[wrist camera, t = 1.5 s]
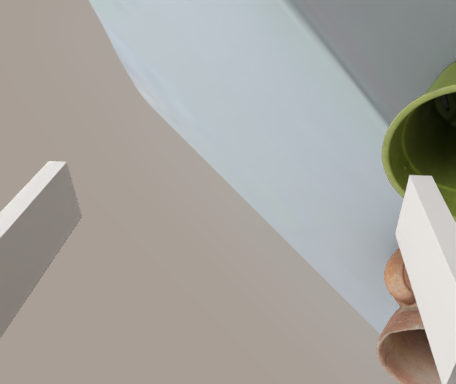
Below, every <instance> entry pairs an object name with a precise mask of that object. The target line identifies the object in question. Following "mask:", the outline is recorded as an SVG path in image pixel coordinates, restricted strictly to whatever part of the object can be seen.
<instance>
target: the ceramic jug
mask: <svg viewBox="0 0 456 384" xmlns="http://www.w3.org/2000/svg"><path fill="white" fill-rule="evenodd" d="M384 274H385V278H384V279H385V284H386V287H387V289H388V291H389V292H390V294H391V295H392V296H393V297H394V298H395V300H396V301H397V302H398V304H399V305H400V306H401V307H400V308H399V309H398V310H397V311H396V312H395V313H394V315H393V316H392V317H391V319H390V320H389V322H388V323H387V325H386V327H385V328H384V330H383V332H382V334H381V336H380V338H379V341H378V344H377V355H378V359H379V361H380V363H381V365H382V366H383V368H384V369H385V371H386V372H387V373H388V374H389V375H390V376H391V377H392V378H393V379H395V380H396V381H397V382H398V383H400V384H442V383H441V380H440V377H439V373H438V370H437V367H436V364H435V361H434V357H433V354H432V351H431V348H430V344H429V341H428V338H427V335H426V332H425V328H424V325H423V322H422V319H421V315H420V312H419V309H418V306H417V303H416V299H415V296H414V293H413V290H412V286H411V283H410V280H409V277H408V274H407V270H406V267H405V264H404V261H403V258H402V254H401V251H400V248H399V249H398V250H397V251H396V252H395V253H394V254H393V255H392V256H391V258H390V259H389V261H388V262H387V264H386V268H385V273H384Z"/></svg>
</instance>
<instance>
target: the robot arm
mask: <svg viewBox="0 0 456 384" xmlns="http://www.w3.org/2000/svg"><path fill="white" fill-rule="evenodd" d="M81 218H82V215H81V212H80V208H79V204H78V201H77V197H76V194H75V190H74V186H73V183H72V179H71V176H70V172H69V168H68V165H67V162H55V161H49V162H48V163H47V164H46V165H45V166H44V167H43V168H42V169H41V170H40V171H39V172H38V173H37V174H36V175H35V176H34V177H33V178H32V179H31V180H30V182H29V183H28V184H27V185H26V186H25V187H24V188H23V189H22V190H21V191H20V192H19V193H18V194H17V195H16V196H15V197H14V199H13V200H12V201H11V202H10V203H9V204H8V205H7V206H6V207H5V208H4V209H3V210H2V211H1V212H0V338H1V337H2V335H3V334H4V332H5V331H6V329H7V328H8V326H9V325H10V323H11V322H12V320H13V319H14V317H15V316H16V314H17V313H18V311H19V310H20V308H21V307H22V305H23V304H24V303H25V301H26V300H27V298H28V297H29V295H30V294H31V292H32V291H33V289H34V288H35V286H36V285H37V283H38V282H39V280H40V279H41V277H42V276H43V274H44V273H45V271H46V270H47V268H48V267H49V265H50V264H51V262H52V261H53V259H54V258H55V256H56V255H57V253H58V252H59V250H60V249H61V247H62V246H63V244H64V243H65V242H66V240H67V239H68V237H69V236H70V234H71V233H72V231H73V230H74V228H75V227H76V225H77V224H78V222H79V221H80V219H81ZM395 235H396V238H397V241H398V245H399V248H400V251H401V254H402V258H403V261H404V264H405V267H406V270H407V274H408V277H409V280H410V283H411V286H412V290H413V293H414V296H415V299H416V303H417V306H418V309H419V312H420V315H421V319H422V322H423V325H424V328H425V332H426V335H427V338H428V341H429V344H430V348H431V351H432V354H433V357H434V361H435V364H436V367H437V370H438V373H439V377H440V380H441V383H442V384H456V222H455V221H454V219H453V217H452V215H451V213H450V211H449V209H448V207H447V205H446V203H445V201H444V199H443V197H442V195H441V193H440V191H439V189H438V187H437V185H436V183H435V181H434V179H433V177H432V176H422V175H409V179H408V183H407V187H406V192H405V196H404V200H403V204H402V208H401V212H400V216H399V220H398V225H397V229H396V233H395Z"/></svg>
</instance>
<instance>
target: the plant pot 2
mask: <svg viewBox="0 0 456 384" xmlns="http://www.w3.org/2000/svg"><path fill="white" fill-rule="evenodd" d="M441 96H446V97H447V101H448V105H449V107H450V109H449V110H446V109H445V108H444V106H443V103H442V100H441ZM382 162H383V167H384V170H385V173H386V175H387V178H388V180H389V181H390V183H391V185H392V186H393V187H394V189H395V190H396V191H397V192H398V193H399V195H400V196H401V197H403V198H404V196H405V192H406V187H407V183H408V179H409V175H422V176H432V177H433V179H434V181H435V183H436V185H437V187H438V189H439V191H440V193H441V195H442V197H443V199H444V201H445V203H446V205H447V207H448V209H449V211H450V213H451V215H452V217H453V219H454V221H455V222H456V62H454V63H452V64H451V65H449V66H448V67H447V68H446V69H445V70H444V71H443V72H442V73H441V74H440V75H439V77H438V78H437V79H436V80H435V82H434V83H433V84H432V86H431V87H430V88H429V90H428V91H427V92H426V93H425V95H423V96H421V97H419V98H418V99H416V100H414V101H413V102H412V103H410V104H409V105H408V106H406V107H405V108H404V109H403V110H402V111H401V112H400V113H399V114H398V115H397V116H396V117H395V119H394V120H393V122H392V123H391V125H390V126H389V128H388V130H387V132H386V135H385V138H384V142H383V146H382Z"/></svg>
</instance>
